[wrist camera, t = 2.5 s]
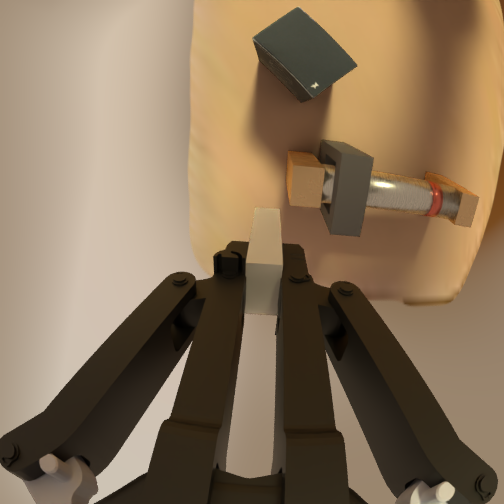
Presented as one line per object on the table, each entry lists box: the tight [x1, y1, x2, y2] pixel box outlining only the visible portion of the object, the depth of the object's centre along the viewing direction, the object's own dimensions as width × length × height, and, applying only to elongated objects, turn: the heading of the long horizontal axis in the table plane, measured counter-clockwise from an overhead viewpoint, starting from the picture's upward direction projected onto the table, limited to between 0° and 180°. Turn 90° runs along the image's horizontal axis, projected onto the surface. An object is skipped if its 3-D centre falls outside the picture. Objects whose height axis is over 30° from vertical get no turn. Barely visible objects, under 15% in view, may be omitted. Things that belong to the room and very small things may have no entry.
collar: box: [319, 140, 374, 237], centre depth 28 cm, size 3×8×11 cm, turn 178°
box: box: [252, 7, 357, 103], centre depth 23 cm, size 8×6×11 cm
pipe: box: [286, 151, 479, 227], centre depth 29 cm, size 23×4×10 cm, turn 88°
